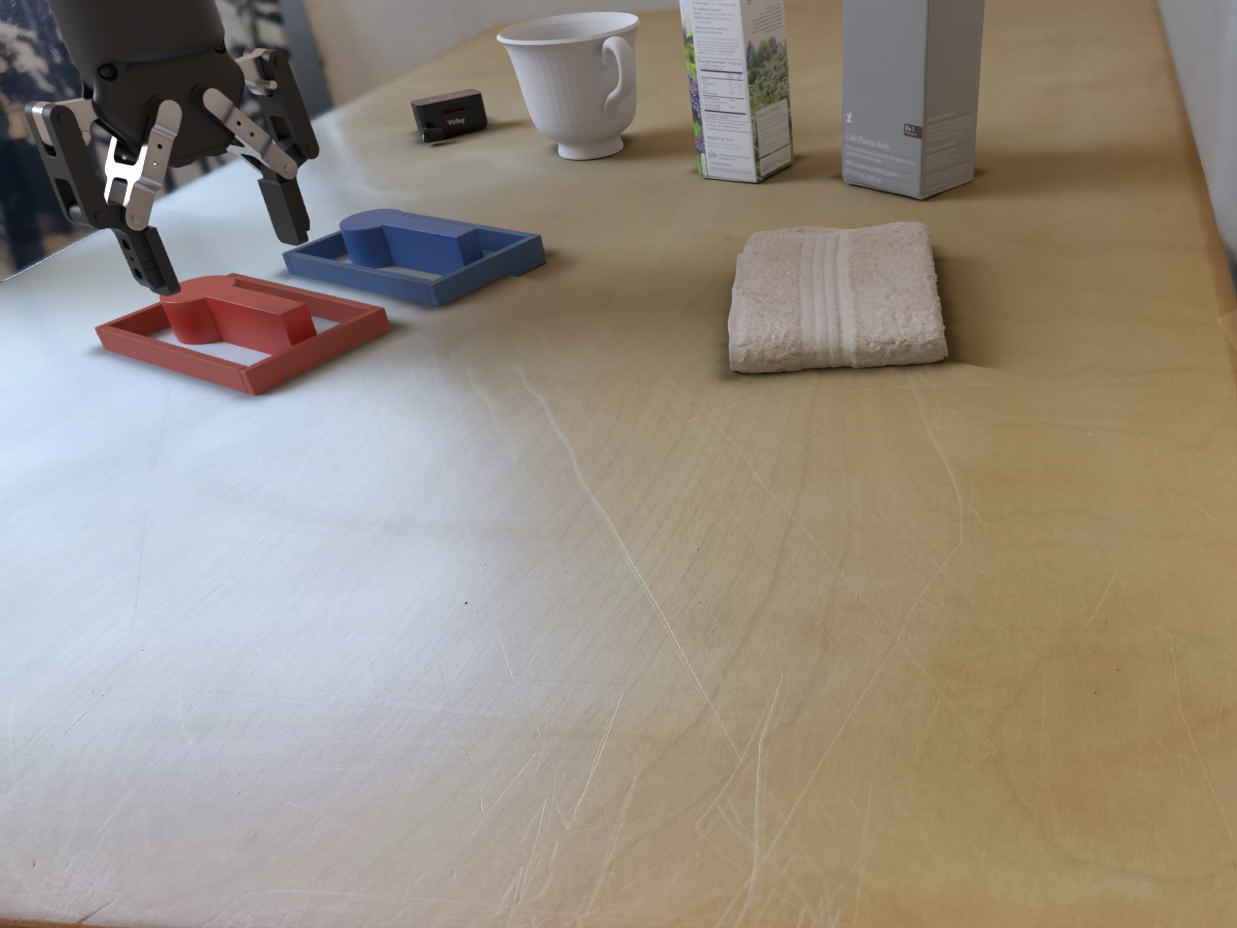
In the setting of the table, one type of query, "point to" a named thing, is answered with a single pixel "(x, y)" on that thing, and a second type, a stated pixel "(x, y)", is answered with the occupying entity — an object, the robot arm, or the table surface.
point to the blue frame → (501, 257)
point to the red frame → (353, 331)
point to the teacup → (577, 78)
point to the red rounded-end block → (236, 316)
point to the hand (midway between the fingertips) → (232, 266)
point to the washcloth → (836, 299)
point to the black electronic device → (449, 114)
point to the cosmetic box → (910, 93)
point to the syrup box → (738, 87)
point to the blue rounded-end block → (408, 242)
